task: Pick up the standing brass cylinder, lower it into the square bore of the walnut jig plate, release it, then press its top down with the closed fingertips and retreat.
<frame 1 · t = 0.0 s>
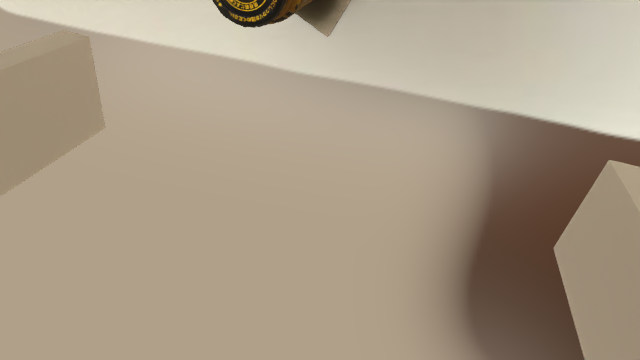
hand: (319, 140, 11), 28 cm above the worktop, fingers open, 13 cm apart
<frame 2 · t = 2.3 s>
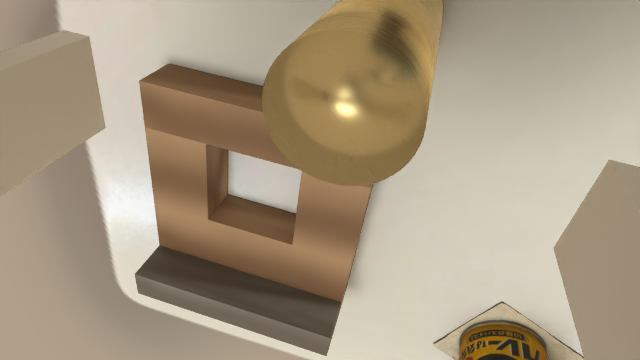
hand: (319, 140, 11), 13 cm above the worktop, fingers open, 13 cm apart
brass cylinder: (395, 15, 21), on the worktop
condiment: (508, 350, 32), on the worktop
jig: (267, 189, 30), on the worktop
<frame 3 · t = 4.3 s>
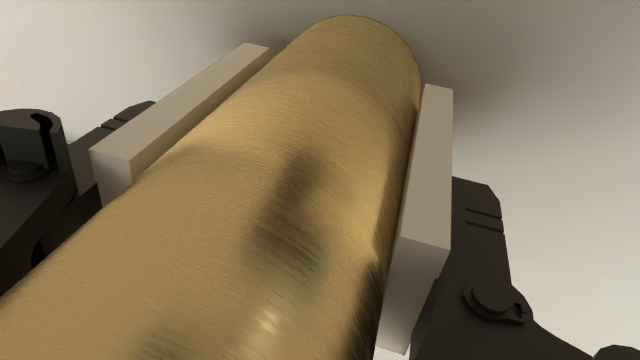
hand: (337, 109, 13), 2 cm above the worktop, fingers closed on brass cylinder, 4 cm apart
brass cylinder: (349, 88, 14), on the worktop, touching gripper
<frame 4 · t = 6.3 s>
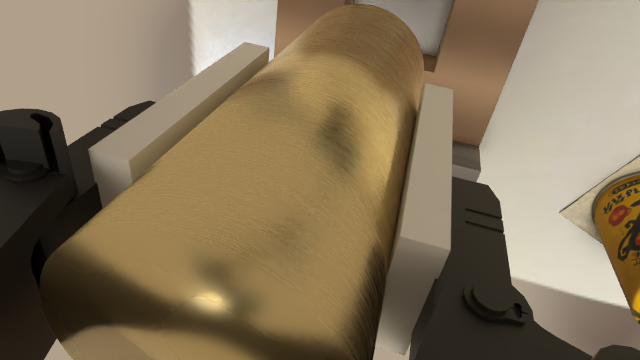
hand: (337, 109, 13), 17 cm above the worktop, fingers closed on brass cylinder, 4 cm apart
brass cylinder: (358, 71, 15), point 14 cm above the worktop, touching gripper
jig: (396, 24, 27), on the worktop
when the fingers open (4 cm above the worktop, at t = 8.6 s): brass cylinder stays where it is, resting in jig.
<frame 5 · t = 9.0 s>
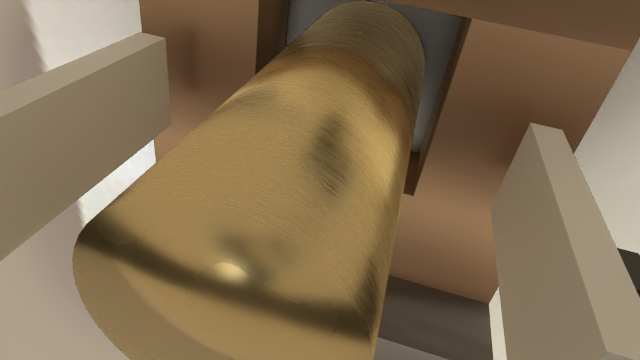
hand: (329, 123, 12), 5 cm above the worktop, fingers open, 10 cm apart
brass cylinder: (361, 66, 16), resting in jig
jig: (354, 103, 17), on the worktop
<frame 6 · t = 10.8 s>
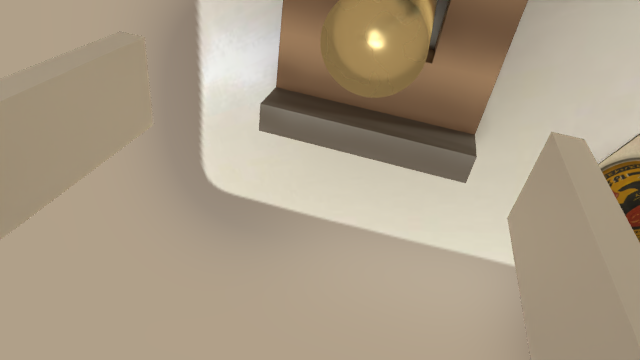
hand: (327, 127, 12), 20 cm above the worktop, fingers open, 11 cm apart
condiment: (635, 198, 31), on the worktop
jig: (396, 18, 29), on the worktop
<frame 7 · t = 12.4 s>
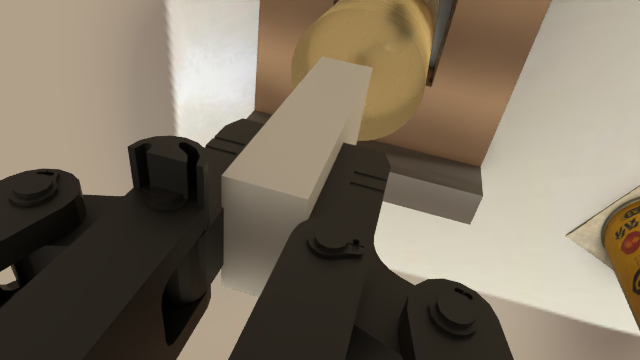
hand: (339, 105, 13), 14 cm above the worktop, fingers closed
brass cylinder: (396, 6, 24), resting in jig
jig: (390, 32, 25), on the worktop
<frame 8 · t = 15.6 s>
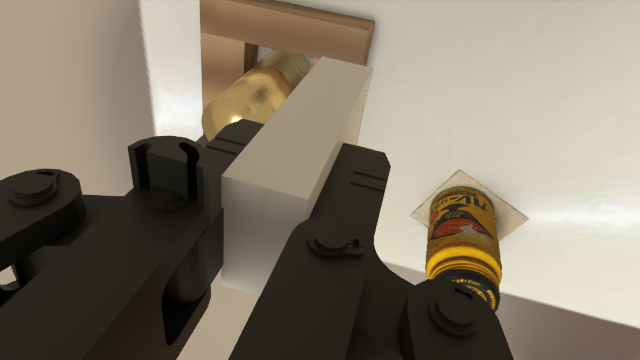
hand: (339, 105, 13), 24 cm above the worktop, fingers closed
brass cylinder: (287, 72, 39), resting in jig
condiment: (467, 215, 43), on the worktop
jig: (285, 87, 40), on the worktop
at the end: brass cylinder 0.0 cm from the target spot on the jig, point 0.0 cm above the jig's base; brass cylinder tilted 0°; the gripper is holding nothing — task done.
